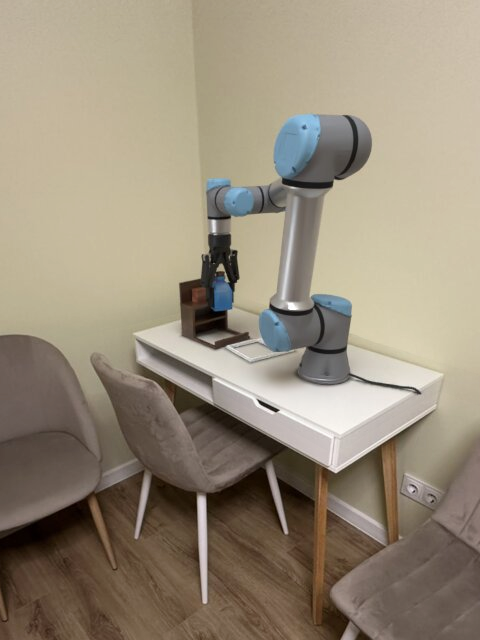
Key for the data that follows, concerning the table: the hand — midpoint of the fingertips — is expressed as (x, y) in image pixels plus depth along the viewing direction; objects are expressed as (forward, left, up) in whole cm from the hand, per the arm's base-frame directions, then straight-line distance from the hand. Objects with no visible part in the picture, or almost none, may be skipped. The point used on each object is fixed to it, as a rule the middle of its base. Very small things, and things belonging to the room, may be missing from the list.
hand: (220, 304), depth 162 cm
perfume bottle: (0, 0, -2) cm, 2 cm away
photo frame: (-17, -3, -13) cm, 21 cm away
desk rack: (+3, 0, -13) cm, 13 cm away
